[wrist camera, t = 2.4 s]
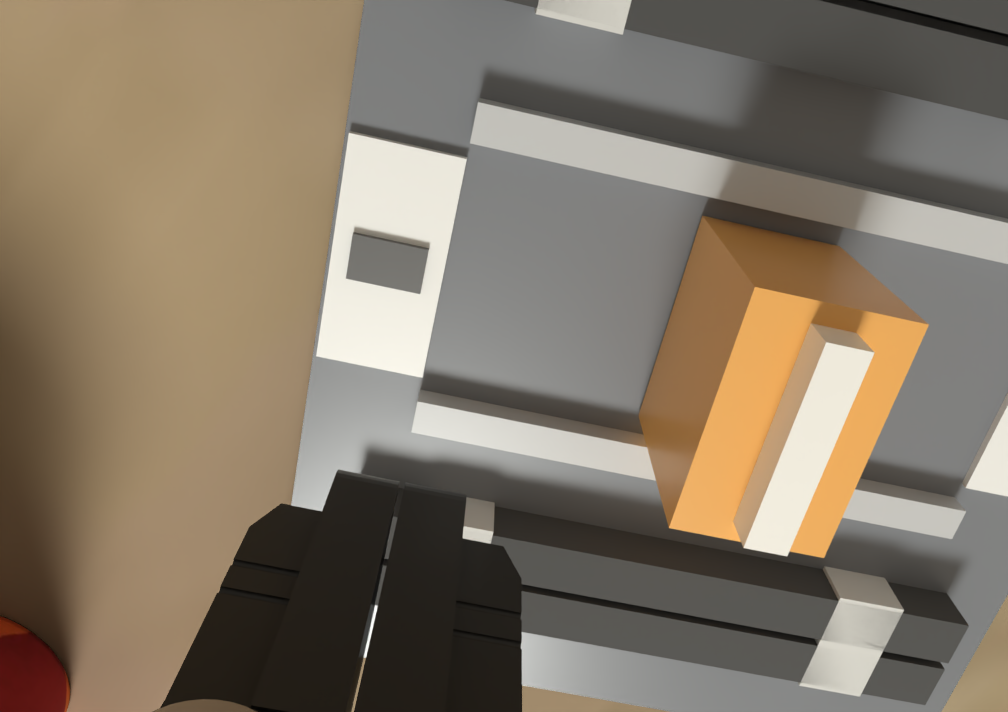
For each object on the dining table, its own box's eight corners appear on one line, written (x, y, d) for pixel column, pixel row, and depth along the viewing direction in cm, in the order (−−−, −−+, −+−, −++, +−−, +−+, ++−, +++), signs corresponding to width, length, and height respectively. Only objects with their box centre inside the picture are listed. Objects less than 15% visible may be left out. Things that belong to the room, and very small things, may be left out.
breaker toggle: (702, 215, 18) (767, 304, 14) (839, 246, 19) (950, 343, 14) (638, 415, 20) (676, 554, 15) (763, 441, 20) (837, 585, 16)
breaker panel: (434, -341, 17) (417, -403, 14) (1299, -110, 18) (1443, -123, 15) (293, 580, 25) (265, 657, 23) (882, 687, 27) (925, 772, 24)
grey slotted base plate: (482, -161, 18) (474, -189, 14) (1163, 11, 19) (1303, 22, 16) (359, 513, 24) (334, 601, 21) (869, 610, 26) (923, 708, 22)
